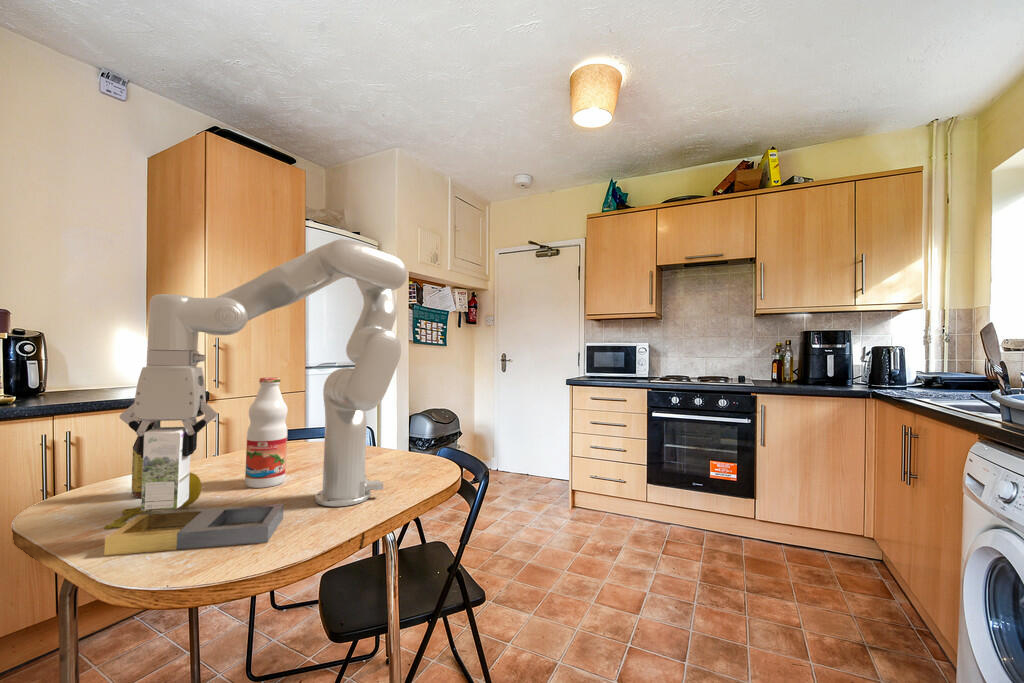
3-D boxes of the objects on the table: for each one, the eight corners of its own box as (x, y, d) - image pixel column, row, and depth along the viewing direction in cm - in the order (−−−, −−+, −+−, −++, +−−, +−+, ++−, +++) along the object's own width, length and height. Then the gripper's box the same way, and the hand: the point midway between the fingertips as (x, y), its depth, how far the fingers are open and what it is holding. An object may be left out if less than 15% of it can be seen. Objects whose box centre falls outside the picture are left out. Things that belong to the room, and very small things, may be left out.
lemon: (183, 513, 93) (185, 476, 93) (162, 510, 94) (164, 473, 94) (206, 504, 98) (208, 469, 98) (186, 502, 99) (188, 467, 99)
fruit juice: (290, 477, 120) (294, 377, 121) (278, 488, 111) (282, 379, 111) (253, 478, 118) (258, 376, 119) (238, 489, 109) (243, 378, 110)
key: (119, 524, 84) (90, 525, 83) (119, 531, 84) (90, 531, 83) (159, 503, 96) (134, 504, 95) (159, 509, 96) (133, 510, 95)
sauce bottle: (144, 490, 106) (148, 409, 107) (171, 490, 107) (175, 410, 107) (123, 499, 100) (127, 413, 100) (151, 499, 100) (155, 413, 101)
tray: (283, 517, 92) (283, 503, 92) (267, 542, 80) (268, 526, 80) (143, 527, 85) (143, 512, 85) (104, 555, 73) (105, 538, 73)
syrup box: (189, 499, 85) (193, 425, 85) (177, 509, 79) (180, 430, 79) (154, 501, 83) (158, 426, 83) (139, 512, 77) (142, 431, 78)
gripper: (231, 360, 88) (227, 449, 87) (129, 358, 83) (125, 452, 83) (216, 361, 80) (212, 458, 80) (104, 359, 76) (99, 462, 75)
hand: (168, 454), depth 81 cm, fingers closed on syrup box, 5 cm apart
